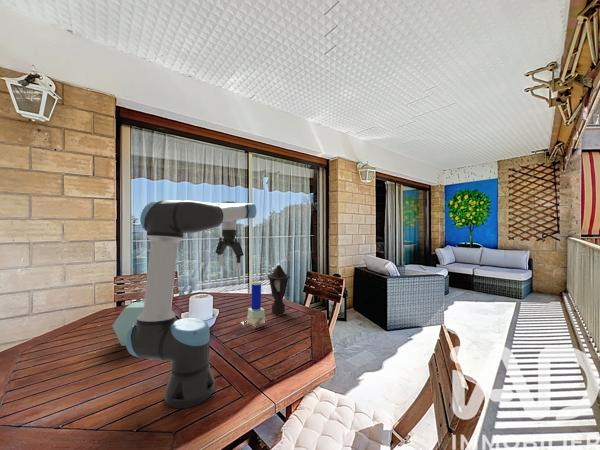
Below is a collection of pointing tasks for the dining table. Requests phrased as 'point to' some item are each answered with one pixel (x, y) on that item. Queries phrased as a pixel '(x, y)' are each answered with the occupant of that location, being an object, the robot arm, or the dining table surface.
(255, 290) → the beverage can
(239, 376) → the dining table surface
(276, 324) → the dining table surface
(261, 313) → the block top
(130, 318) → the mint green hexagonal block
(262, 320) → the block bottom
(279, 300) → the lantern
